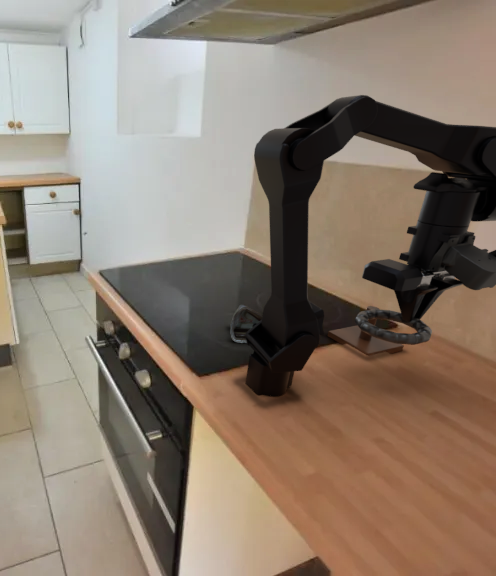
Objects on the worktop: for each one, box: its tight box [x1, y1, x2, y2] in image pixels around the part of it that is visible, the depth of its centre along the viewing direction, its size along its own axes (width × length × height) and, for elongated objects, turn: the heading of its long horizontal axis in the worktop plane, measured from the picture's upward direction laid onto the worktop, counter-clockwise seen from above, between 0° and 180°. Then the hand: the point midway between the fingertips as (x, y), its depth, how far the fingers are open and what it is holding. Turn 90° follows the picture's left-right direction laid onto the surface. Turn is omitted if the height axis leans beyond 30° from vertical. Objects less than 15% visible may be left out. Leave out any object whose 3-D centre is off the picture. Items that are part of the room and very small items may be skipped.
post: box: [327, 305, 405, 356], centre depth 74 cm, size 9×9×8 cm
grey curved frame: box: [229, 304, 263, 344], centre depth 78 cm, size 10×7×12 cm
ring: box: [354, 308, 433, 346], centre depth 59 cm, size 10×10×2 cm
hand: (411, 320), depth 60 cm, fingers closed on ring, 1 cm apart
